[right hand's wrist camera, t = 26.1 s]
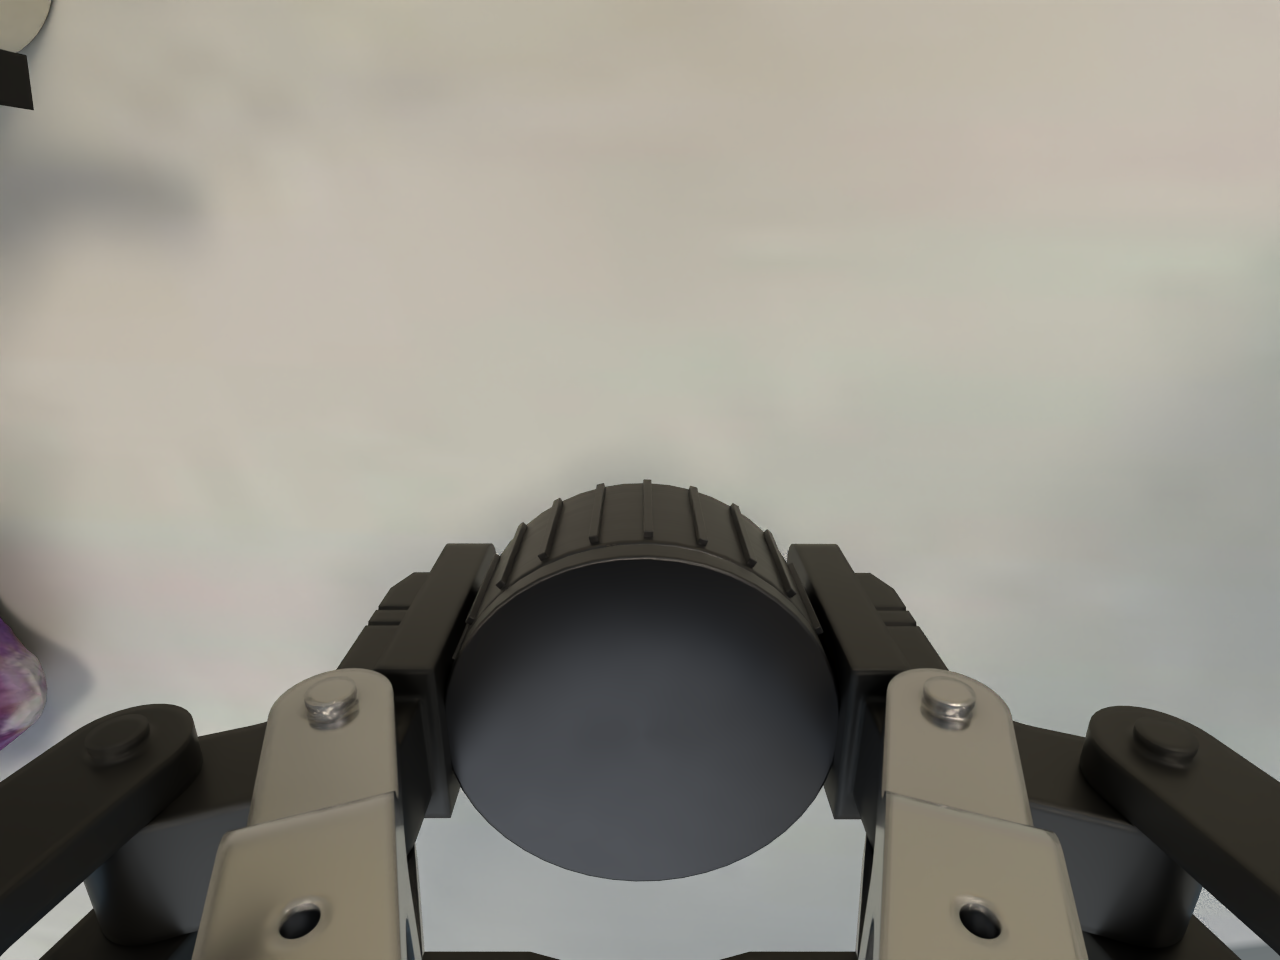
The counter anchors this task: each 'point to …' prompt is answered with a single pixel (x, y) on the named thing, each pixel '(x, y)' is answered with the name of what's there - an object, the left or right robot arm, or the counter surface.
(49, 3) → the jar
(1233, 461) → the counter surface
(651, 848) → the lid
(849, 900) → the counter surface
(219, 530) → the counter surface
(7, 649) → the figurine
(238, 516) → the counter surface
